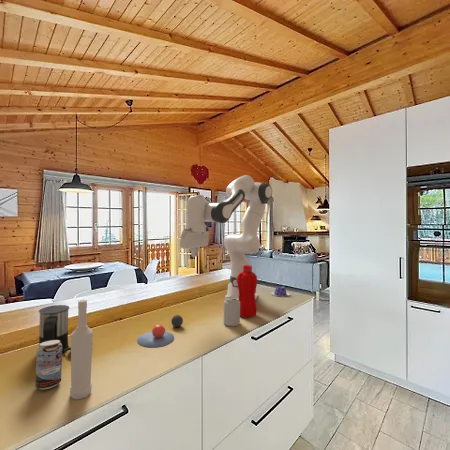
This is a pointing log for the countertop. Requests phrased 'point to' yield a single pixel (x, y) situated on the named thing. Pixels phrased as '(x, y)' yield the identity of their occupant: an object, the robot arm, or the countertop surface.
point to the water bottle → (247, 292)
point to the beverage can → (48, 364)
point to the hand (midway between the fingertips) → (194, 256)
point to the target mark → (155, 340)
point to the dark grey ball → (177, 321)
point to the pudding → (280, 291)
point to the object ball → (158, 331)
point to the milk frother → (54, 325)
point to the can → (231, 311)
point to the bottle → (81, 355)
